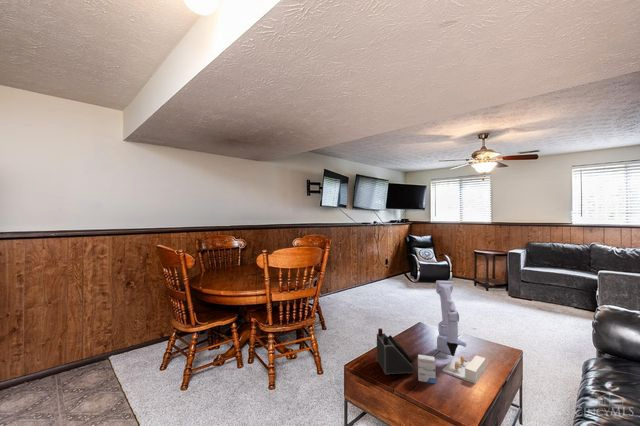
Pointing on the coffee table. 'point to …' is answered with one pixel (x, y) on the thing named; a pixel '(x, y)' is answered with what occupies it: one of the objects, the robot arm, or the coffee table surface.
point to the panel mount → (467, 369)
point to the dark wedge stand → (392, 355)
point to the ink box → (426, 369)
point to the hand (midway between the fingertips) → (452, 355)
